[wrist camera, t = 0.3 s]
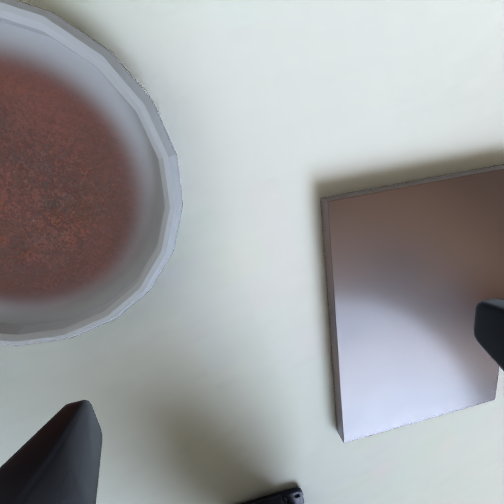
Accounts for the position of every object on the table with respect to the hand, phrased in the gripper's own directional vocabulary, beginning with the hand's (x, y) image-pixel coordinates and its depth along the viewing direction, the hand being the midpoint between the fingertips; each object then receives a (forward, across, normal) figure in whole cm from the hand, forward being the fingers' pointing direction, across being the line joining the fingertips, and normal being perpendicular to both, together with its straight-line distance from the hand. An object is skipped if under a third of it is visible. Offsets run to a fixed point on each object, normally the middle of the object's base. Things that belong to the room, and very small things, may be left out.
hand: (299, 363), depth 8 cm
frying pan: (+15, +15, 0) cm, 21 cm away
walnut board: (+15, -13, +10) cm, 22 cm away
